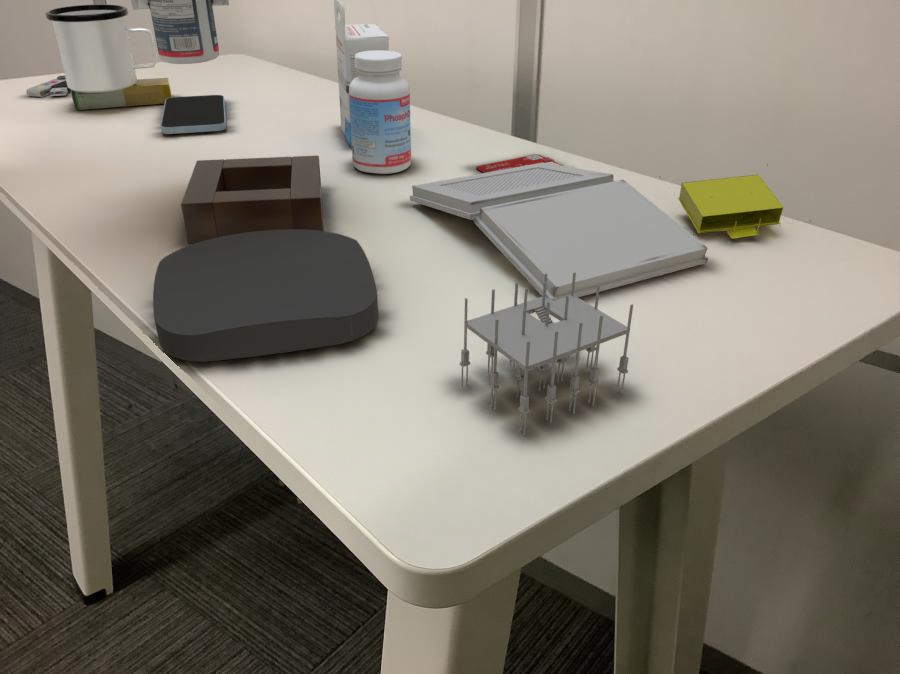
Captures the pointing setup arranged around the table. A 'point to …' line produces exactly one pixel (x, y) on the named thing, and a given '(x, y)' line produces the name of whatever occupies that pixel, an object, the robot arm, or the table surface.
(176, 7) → the pill bottle
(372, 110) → the pill bottle
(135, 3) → the robot arm
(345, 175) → the table surface
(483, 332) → the building frame
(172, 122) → the smartphone
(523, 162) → the card
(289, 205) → the holder
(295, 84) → the table surface
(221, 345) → the media streaming box
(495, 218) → the gadget
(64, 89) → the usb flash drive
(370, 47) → the ink box
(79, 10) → the mug
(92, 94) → the medication box
